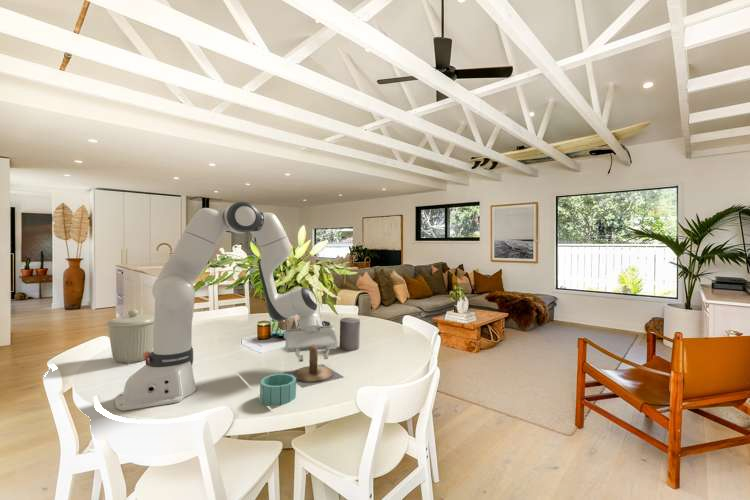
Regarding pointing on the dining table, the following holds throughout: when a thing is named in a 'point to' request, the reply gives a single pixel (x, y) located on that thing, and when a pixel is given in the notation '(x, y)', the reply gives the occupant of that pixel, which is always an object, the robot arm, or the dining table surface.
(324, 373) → the lid
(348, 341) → the pillar candle
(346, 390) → the dining table surface
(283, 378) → the bowl
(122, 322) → the canister
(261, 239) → the robot arm
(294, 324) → the ornament
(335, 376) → the mat
